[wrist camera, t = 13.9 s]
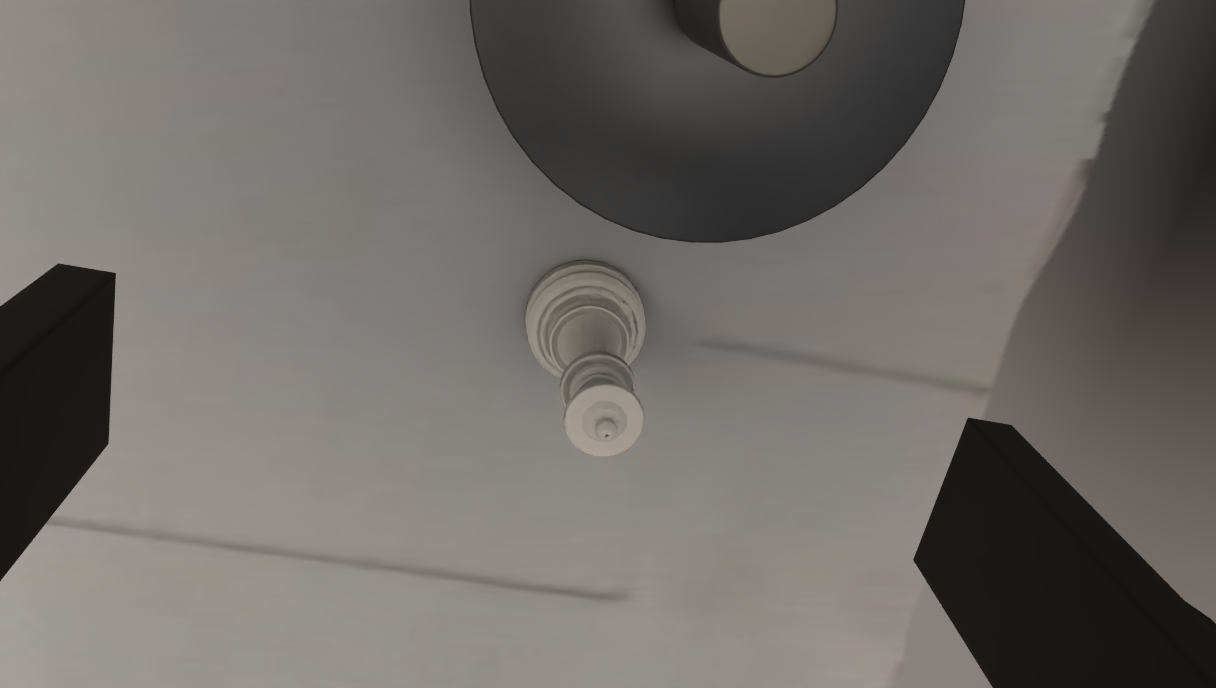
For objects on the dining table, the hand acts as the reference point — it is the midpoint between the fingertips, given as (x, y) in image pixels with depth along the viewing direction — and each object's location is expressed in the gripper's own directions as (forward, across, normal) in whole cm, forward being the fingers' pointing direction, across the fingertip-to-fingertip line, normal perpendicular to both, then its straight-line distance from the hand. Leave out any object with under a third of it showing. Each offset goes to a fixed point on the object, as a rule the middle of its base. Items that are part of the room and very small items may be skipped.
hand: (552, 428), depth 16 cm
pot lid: (+12, +3, +6) cm, 14 cm away
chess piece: (+22, +3, -6) cm, 23 cm away
